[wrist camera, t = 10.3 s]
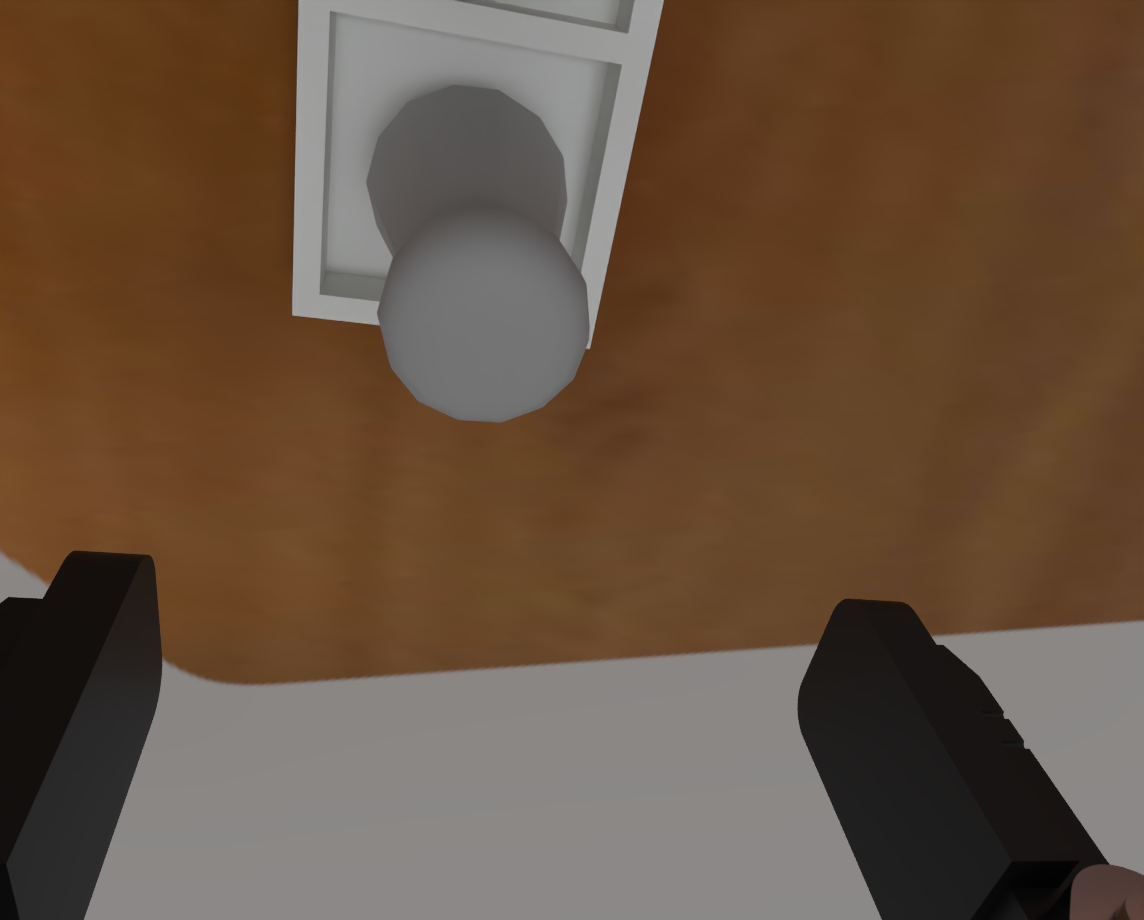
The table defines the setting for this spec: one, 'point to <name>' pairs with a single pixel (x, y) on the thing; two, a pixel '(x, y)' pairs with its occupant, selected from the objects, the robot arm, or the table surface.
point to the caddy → (435, 61)
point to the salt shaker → (476, 256)
